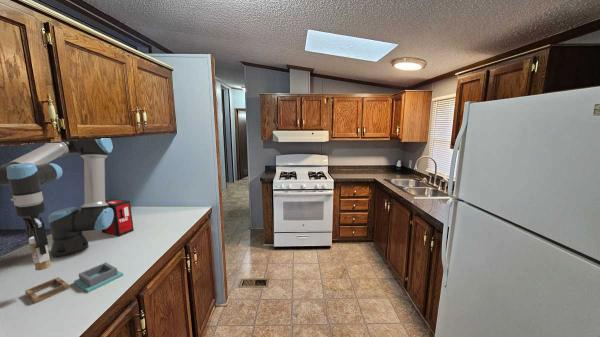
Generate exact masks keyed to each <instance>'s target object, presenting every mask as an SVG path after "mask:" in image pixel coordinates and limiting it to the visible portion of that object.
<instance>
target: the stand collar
mask: <svg viewBox="0 0 600 337" xmlns="http://www.w3.org/2000/svg"><path fill="white" fill-rule="evenodd" d="M54 285H58V286H57V287H55V288H53V289H49V290H48V291H45V292H42V294H39V295H37V294H36V293H38V292H40V291H42V290H45V289H48V288H49V287H51V286H52V287H53V286H54ZM68 289H70V286H69V283H67V282H66V281H65V280H63V279H62V278H60V277H59V276H58V277H55V278H53V279H51V280H47V281H46V282H43V283H40V284H38V285H36V286H33V287H31V288H28V289H26V290H24V292H25V296H26V297H27V298H29V300H31V302H33V303H34V304H38V303H40V302H43V301H44V300H46V299H49V298H51V297H53V296H55V295H57V294H60V293H62V292H64V291H65V290H68Z"/></svg>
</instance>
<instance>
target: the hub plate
mask: <svg viewBox="0 0 600 337" xmlns="http://www.w3.org/2000/svg"><path fill="white" fill-rule="evenodd" d="M123 276H124V273H123V272H122V271H119V270H118V269H117V267H115V266H113V265H111V264H109V263H107V262H104V263H101V264H99V265H96V266H93V267H91V268H89V269H87V270H85V271H82V272H79V273H78V278H77V279H75V280H73V283H74V284H75V285H76V286H78V287H79V288H81V289H82V290H84V291H85V292H86V293H91V292H93V291H95V290H97V289H99V288H101V287H102V286H105V285H107V284H109V283H111V282H114V280H117V279H119V278H121V277H123Z"/></svg>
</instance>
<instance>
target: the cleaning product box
mask: <svg viewBox="0 0 600 337" xmlns="http://www.w3.org/2000/svg"><path fill="white" fill-rule="evenodd" d="M105 202H106V203H107V204H109V208H112V209H113V212H114V217H113V221H112V223H111V225H110V226H109V227H108V228H107V229H104V230H100V231H101V233H102V234H107V235H111V236H115V237H122V236H124V235H127V234H129V233H132V232H134V231H135V229H134V223H133V214H132V207H131V201H130V200H125V199H118V198H109V199H105Z"/></svg>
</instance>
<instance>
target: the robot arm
mask: <svg viewBox="0 0 600 337" xmlns="http://www.w3.org/2000/svg"><path fill="white" fill-rule="evenodd" d="M113 148H114V147H113V141H112V139H111V137H110V138H101V139H92V140H78V141H69V142H61V143H46V142H45V144H43V145H42V146H40V147H38V148H36V149H34V150H33V149H32V150H31V151H30V152H28V153H25V154H23V155H21V156H19V157H17V158H15V159H14V160H11V161H8V162H7V163H5V164H3V165H0V186H9V187H10V191H11V195H12V198H10V201H11V202H13V203H14V206H15V207H14V210H15V212H16V213H15V214H16V216H17V217H21V218H22V221H23V224H24V227H25V232H26V236H27V241H28V242H29V238H31V237H33V236H34V239H35V242H36V245H37V246H36V247H34V248H36V250H37V255H38V259H39V263H41V262H44V261H47V260H49V259H50V256H51V258H54V259H55V258H65V257H70V256H73V255H76V254H79V253H81V252H83V251H85V250H86V249H88V248H89V241H88V240H87V238H86V236H84V234H83V232H93V231H97V232H98V231H101V230H104V229H107V228H108V227H109V226H110V225H111V223H112V221H113V217H114V212H113V209H112V208H109V204H107V203H106V202H105V200H106V181H105V180H106V177H105V176H106V175H105V174H106V173H105V172H106V169H105V168H106V166H105V159H107V158H108V157H109V155H108V154H111V153H112V152H113ZM72 154H75V155H78V154H80V157H81V158H82V159H83V161H84V163H83V164H84V167H83V169H84V171H83V176H84V204H82V205H81V206H80V209H79V207H78V206H70V207H65V208H62V209H59V210H56V211H52V212H51V213H50V214H49V215H48V224H49V228H50V234H51V238H52V242H51V247H50V251H49V250H48V251H47V248H48V245H49V241H48V237H47V232H46V227H45V221H44V220H43V218H42V216H40V214H42V213H44V212H45V211H46V207H45V202H43V201H44V196H43V192H42V188H41V185H45V184H48V183H52V182H55V181H57V180H59V179H60V178H61V177H62V175H63V168H62V167H61V166H60V165H58V164H56V163H51V162H52V161H54V160H56V159H57V158H59V157H60V158H62V157H65V156H67V155H72ZM46 245H47V246H46ZM48 253H50V254H49V256H48Z"/></svg>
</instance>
